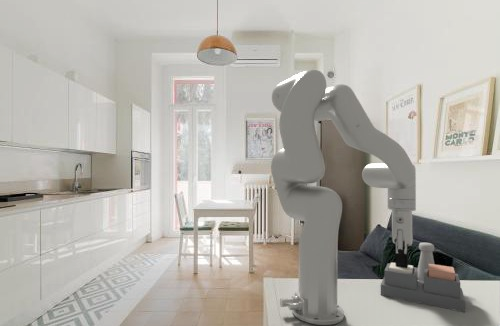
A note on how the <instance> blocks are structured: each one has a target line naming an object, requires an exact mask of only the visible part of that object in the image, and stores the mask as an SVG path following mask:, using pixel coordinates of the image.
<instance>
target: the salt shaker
mask: <svg viewBox="0 0 500 326" xmlns="http://www.w3.org/2000/svg"><path fill="white" fill-rule="evenodd" d="M418 249H419V250H420V254H419V255H420V256H419V261H418V265H417V268H418V280H419V281H424V269H429V264H435V260H434V254H433V252H434V251H435V245H434V244H433V243H431V242H420V243H419V244H418Z"/></svg>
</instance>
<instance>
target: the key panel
mask: <svg viewBox="0 0 500 326" xmlns="http://www.w3.org/2000/svg"><path fill="white" fill-rule="evenodd" d="M390 264H391V262H390V263H387V264H386V267H385V268H384V273H383V274H384V276H383V279H382V281H381V283H380V295H381V296H385V297H389V298H394V299H399V300H403V301H409V302H413V303H418V304H424V305H426V306H427V305H428V306H433V307H438V308H442V309H446V310H452V311H457V312H461V313H466V299H465V295H464V292H463V288H462V287H461V280H460V277H459V274H458V273H455V281H452V280H445V279H439V278H433V277H429V269H424V281H419V280H418V267H414V266H413V274H409V273H403V272H397V271H391V270H389V266H390Z"/></svg>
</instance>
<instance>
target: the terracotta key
mask: <svg viewBox="0 0 500 326" xmlns="http://www.w3.org/2000/svg"><path fill="white" fill-rule="evenodd" d="M455 274H456V272H455V268H454V267H453V266H447V265H443V264H442V265H441V264H435V263H434V264H429V277H433V278H439V279H445V280H452V281H455Z"/></svg>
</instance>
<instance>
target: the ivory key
mask: <svg viewBox="0 0 500 326" xmlns="http://www.w3.org/2000/svg"><path fill="white" fill-rule="evenodd" d="M413 267H414V265H411V264H408V267H407V268H403V267H397V266H396V265H395V262H390V266H389V270H391V271H397V272H403V273H409V274H413Z"/></svg>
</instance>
